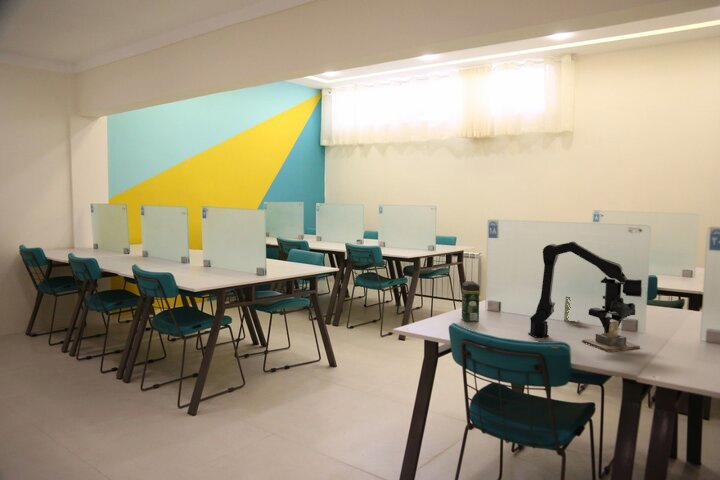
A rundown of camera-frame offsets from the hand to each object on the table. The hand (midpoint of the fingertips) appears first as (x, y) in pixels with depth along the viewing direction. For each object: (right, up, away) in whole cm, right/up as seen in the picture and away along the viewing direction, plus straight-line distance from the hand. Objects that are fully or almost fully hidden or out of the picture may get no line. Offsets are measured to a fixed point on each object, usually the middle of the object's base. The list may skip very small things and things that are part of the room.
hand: (610, 332), depth 219 cm
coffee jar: (-48, -1, +42) cm, 64 cm away
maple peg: (0, -3, 0) cm, 3 cm away
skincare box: (0, -2, +41) cm, 41 cm away
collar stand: (0, -5, 0) cm, 5 cm away
